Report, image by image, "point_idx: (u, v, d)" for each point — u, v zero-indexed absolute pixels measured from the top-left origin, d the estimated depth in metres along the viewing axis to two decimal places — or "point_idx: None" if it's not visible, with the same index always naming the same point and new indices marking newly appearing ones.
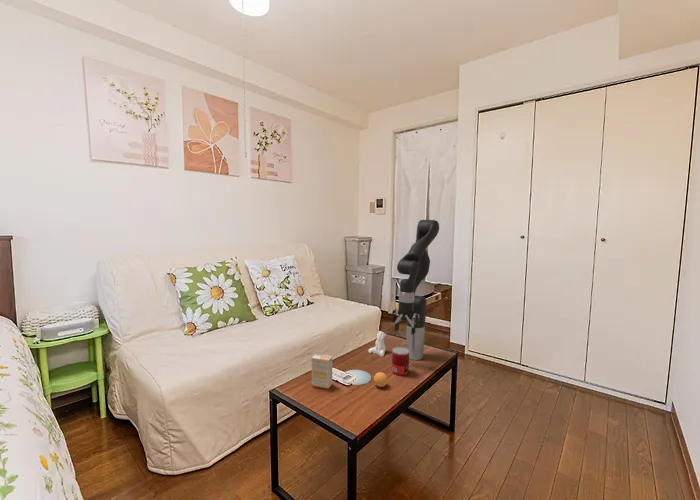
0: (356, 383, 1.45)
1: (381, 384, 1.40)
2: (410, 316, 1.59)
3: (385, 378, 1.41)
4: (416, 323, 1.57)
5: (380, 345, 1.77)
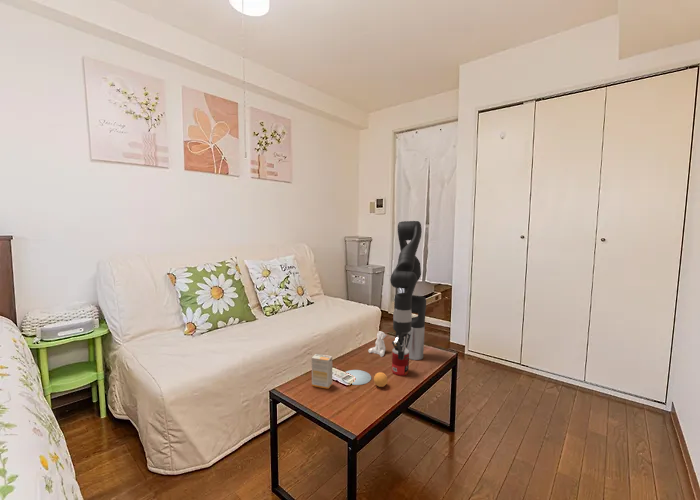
0: (356, 383, 1.45)
1: (381, 384, 1.40)
2: None
3: (385, 378, 1.41)
4: (407, 343, 1.38)
5: (380, 345, 1.77)
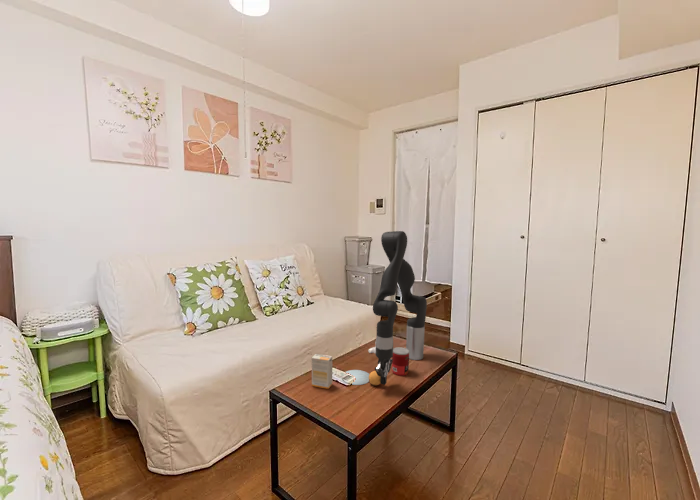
0: (356, 383, 1.45)
1: (376, 381, 1.41)
2: None
3: None
4: (389, 368, 1.44)
5: None
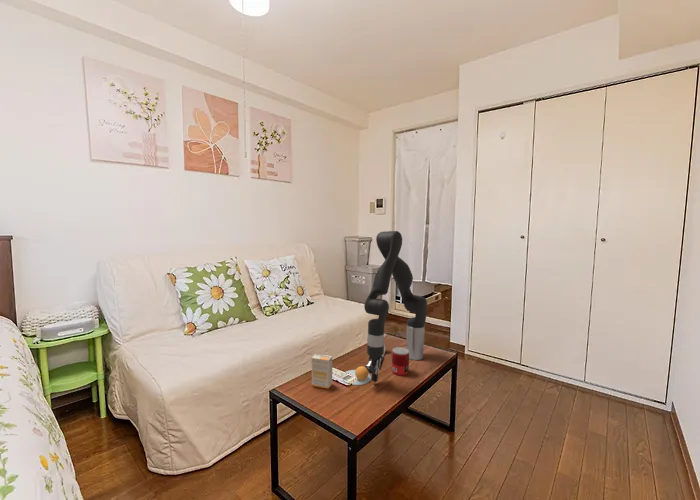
0: (356, 383, 1.45)
1: (357, 370, 1.47)
2: None
3: None
4: (381, 366, 1.46)
5: None
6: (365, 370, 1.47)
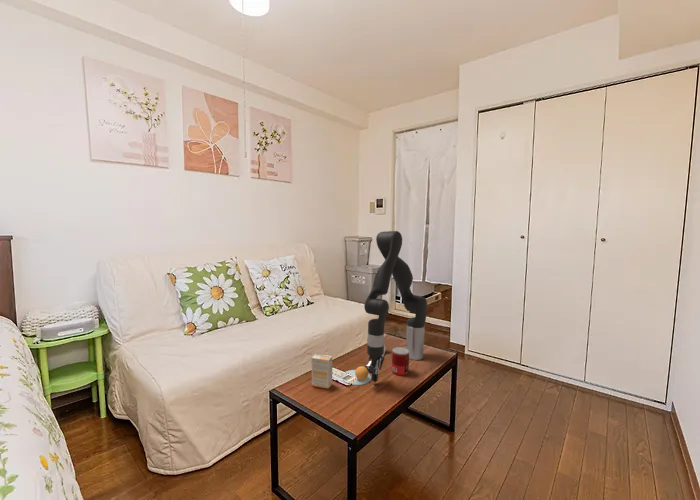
0: (356, 383, 1.45)
1: (357, 370, 1.47)
2: None
3: None
4: (381, 366, 1.46)
5: None
6: (365, 370, 1.47)
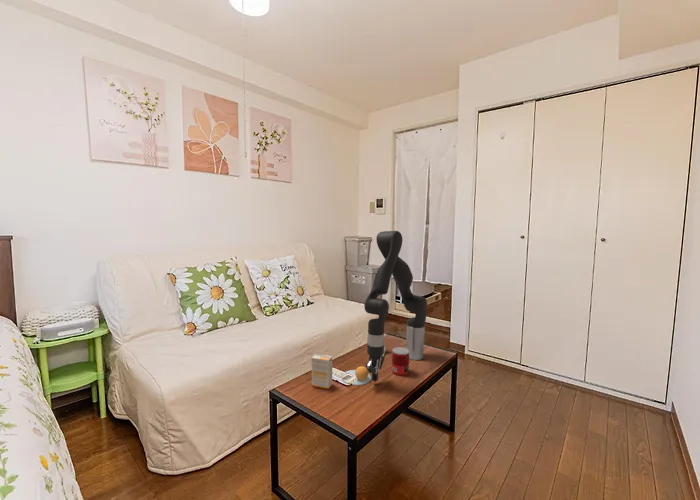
0: (356, 383, 1.45)
1: (357, 370, 1.47)
2: None
3: None
4: (381, 365, 1.46)
5: None
6: (365, 370, 1.47)
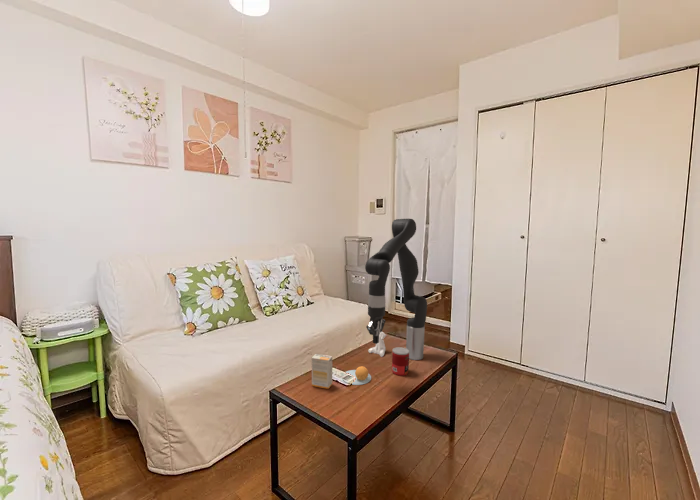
0: (356, 383, 1.45)
1: (357, 370, 1.47)
2: None
3: None
4: (382, 328, 1.45)
5: (380, 345, 1.77)
6: (365, 370, 1.47)
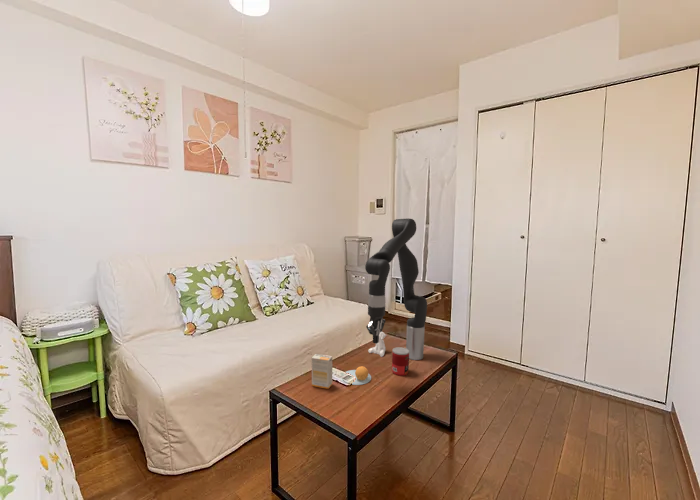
0: (356, 383, 1.45)
1: (357, 370, 1.47)
2: None
3: None
4: (382, 328, 1.45)
5: (380, 345, 1.77)
6: (365, 370, 1.47)
